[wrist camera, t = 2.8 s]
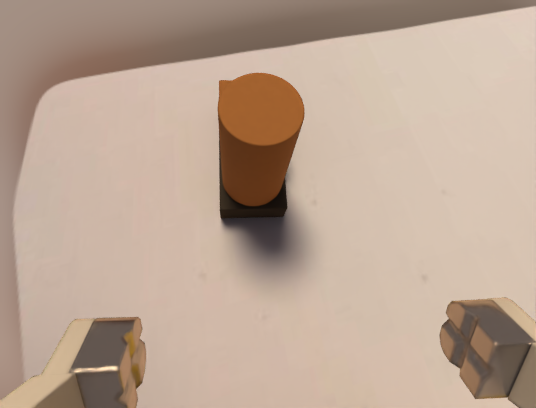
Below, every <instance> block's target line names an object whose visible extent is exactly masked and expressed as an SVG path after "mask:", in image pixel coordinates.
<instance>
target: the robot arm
mask: <svg viewBox="0 0 536 408" xmlns="http://www.w3.org/2000/svg"><path fill="white" fill-rule="evenodd" d="M446 314H447V316H448V318H449V319H448V320H447V321H446V322H445V323H444V324H443V325H442V327H441V331H440V343H441V347H442V350H443V352H444V354H445V356H446V357H447V359H448V360H449V362H451V363H452V364H454V365H456V366H457V367H459V368H460V375H459V376H460V378H461V379H462V380H463V382H464V383H465V385H466V386H467V388H468V389H469V390H470V392H471V393H472V395H473V396H474V398H475V399H485V398H504V397H508V400H509V401H511V402H512V403H513V404H515V405H516V406H517V407H519V408H536V322H535V321H534V320H533V319H532V318H531V317H530V316H529V315H528V314H527V313H525V312H524V311H523V310H522V309H521V308H520V307H519V306H518V305H517V304H516V303H514V302H513V301H512V300H510V299H508V298H506V297H504V298H489V299H478V300H461V301H452V302H451V303H450V304H449V305H448V307H447V310H446ZM141 333H142V324H141V319H140V318H139V317H118V318H97V319H75V320H74V321H72V322H71V323H70V324H69V326H68V328H67V330H66V331H65V333H64V335H63V337H62V339H61V340H60V342H59V344H58V346H57V347H56V349H55V351H54V353H53V355H52V356H51V358H50V360H49V362H48V363H47V365H46V367H45V369H44V370H43V372H42V374H41V375H38V376H33V377H31V378H30V379H29V380H27V381H26V382H25V383H23V384H22V385H21V386H19V387H18V388H16V389H15V390H14V391H12V392H11V393H10V394H8V395H7V396H6V397H4V398H3V399H2V400H0V408H136V406H137V402H138V397H137V391H136V389H137V388H138V387H139V386H140V385H141V384H142V382H143V377H144V373H145V364H146V349H145V343H144V342H143V341H142V340H141V339H140V336H141Z"/></svg>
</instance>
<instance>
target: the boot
mask: <svg viewBox="0 0 536 408" xmlns="http://www.w3.org/2000/svg"><path fill="white" fill-rule="evenodd" d="M218 120H219V160H220V215H221V218H246V217H283V216H284V214H285V212H286V210H287V199H286V186H285V175H286V172H287V169H288V166H289V163H290V160H291V157H292V154H293V151H294V148H295V144H296V141H297V138H298V135H299V132H300V129H301V126H302V123H303V120H304V105H303V102H302V99H301V97H300V95H299V93H298V92H297V90H296V89H295V88H294V87H293V86H292V85H291V84H290V83H288V82H287V81H285V80H284V79H282V78H280V77H277V76H275V75H271V74H266V73H252V74H247V75H243V76H241V77H238V78H236V79H235V80H233V81H226V80H220V81H219V102H218Z"/></svg>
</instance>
